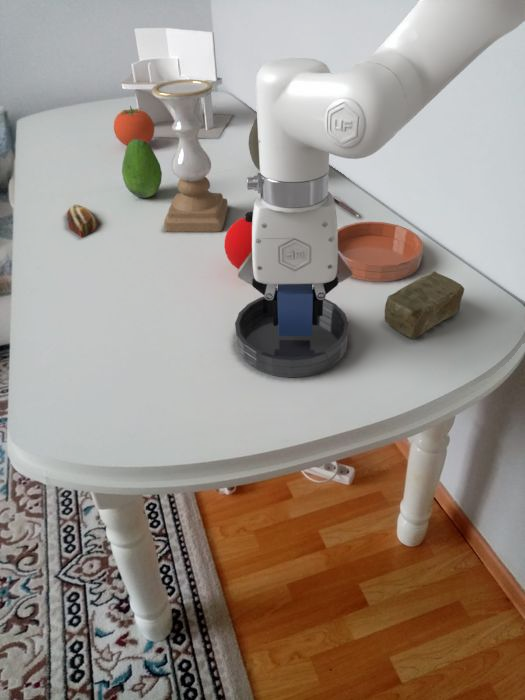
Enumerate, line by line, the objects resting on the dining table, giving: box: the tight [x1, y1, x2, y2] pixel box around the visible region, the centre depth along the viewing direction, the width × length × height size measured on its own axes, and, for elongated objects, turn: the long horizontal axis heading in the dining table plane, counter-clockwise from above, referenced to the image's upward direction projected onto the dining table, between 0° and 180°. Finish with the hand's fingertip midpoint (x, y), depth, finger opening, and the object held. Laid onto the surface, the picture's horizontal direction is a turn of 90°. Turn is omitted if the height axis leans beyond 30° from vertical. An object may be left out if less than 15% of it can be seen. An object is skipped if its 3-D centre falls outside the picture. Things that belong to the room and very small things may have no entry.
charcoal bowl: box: [234, 295, 350, 378], centre depth 71 cm, size 15×15×3 cm
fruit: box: [121, 139, 163, 199], centre depth 108 cm, size 8×8×12 cm
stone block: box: [384, 271, 465, 340], centre depth 73 cm, size 6×12×5 cm, turn 129°
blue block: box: [277, 284, 313, 336], centre depth 68 cm, size 4×4×6 cm
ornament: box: [224, 211, 260, 271], centre depth 84 cm, size 9×9×10 cm
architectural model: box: [121, 27, 233, 139], centre depth 142 cm, size 28×21×23 cm
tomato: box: [113, 105, 154, 147], centre depth 133 cm, size 10×10×10 cm
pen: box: [332, 194, 361, 218], centre depth 104 cm, size 11×1×1 cm, turn 26°
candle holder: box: [152, 80, 229, 233], centre depth 94 cm, size 11×11×24 cm
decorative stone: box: [66, 203, 99, 238], centre depth 102 cm, size 14×6×2 cm, turn 32°
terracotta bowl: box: [337, 221, 424, 283], centre depth 88 cm, size 15×15×3 cm
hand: (295, 318), depth 69 cm, fingers closed on blue block, 4 cm apart
